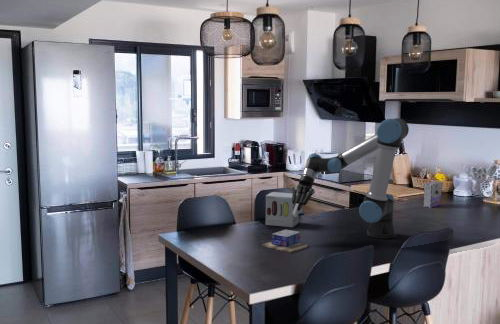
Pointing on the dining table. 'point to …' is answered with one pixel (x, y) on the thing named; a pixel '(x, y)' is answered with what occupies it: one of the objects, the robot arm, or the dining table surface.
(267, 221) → the supplement box
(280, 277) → the dining table surface
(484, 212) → the dining table surface
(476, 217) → the dining table surface
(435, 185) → the candy box
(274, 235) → the ink cartridge box
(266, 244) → the board
